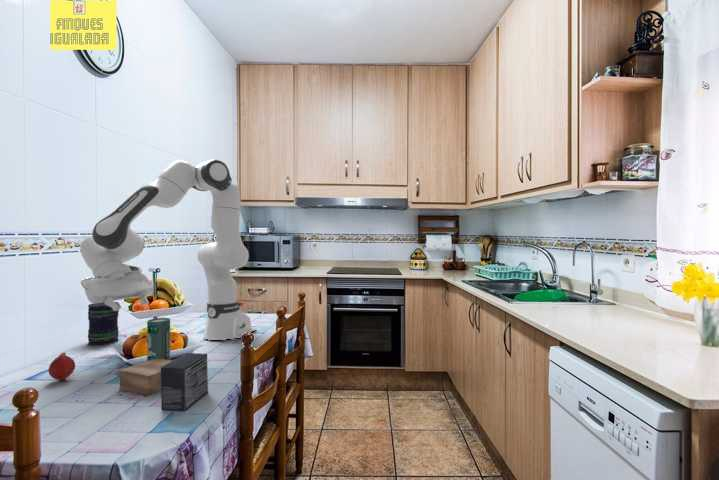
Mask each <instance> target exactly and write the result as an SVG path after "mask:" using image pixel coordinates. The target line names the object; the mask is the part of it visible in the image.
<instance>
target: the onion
mask: <svg viewBox="0 0 719 480" xmlns="http://www.w3.org/2000/svg"><path fill="white" fill-rule="evenodd" d="M53 359H54V360H52V361H51V363H50V364H49V367H48V375H50V377H51V378H52V379H54V380H57V381H60V382H63V381H65V380H66V379H68V377H70V376H71V375H72V374H73V373H74V370H75V369H76V362H75V361H74V359H73V358H72V357H71V356H68V355H66V352H64V351H63V352H61V353H60V354H59V355H58V356H57V357H55V358H53Z"/></svg>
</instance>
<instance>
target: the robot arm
mask: <svg viewBox="0 0 719 480" xmlns="http://www.w3.org/2000/svg"><path fill="white" fill-rule="evenodd" d="M232 180H233V179H232V177H231V173H230V170H229V167H228V166H227V165H226V163H225V162H223V161H221V160H219V159H209V160H206V161H204V162H201V163H199V164H198V165H195V166H193V165H191V163H189V162H187V161H186V160H179V159H178V160H175V161H173V162H172V163H171V164H170V165H168V166H167V167H166V168H165V169H164V170H162V171H161V173H160V174H159V175H158V176H157V177H156V178H155V179H154V181H152V182H151V183H150V184H146V185H143V186H141V187H139V189H137V190H136V191H135V192H133V193H132V194H131V195H130V196H129V197H127V199H126V200H124V201H123V203H120V205H119V206H118V207H117V208H116V209H115V210H113V211H112V212H111V213H110V214H108V215H107V216H104V217H103V218H102V219H99V221H98V222H96V224H95V225H94V226H93V229H92V234H91V235H89V236H88V237H86V238H85V239H84V240H83V241H82V242H81V244H80V247H79V248H80V249H79V250H80V254H81V256H82V258H83V260H84V262H85V264H86V265H87V267H88V268H89V269H90V270H91V271H92V276H93V277H89V276H88V277H84V278H83V279H81V280H80V284H81V286H82V288H83V289H84V292H85V296H86V297H87V298H86V299H87V300H88V302H90V304H95V303H102V302H104V303H105V304H106V305H108V306H109V307H112V309H113V310H114V311H118V310H119V311H120V310H121V309H122V306H121V304H120V302H118V303H115V302H116V301H120V300H121V301H122V300H126V299H127V300H128V299H134V298H139V299H141V300H140V301H139V303H140V305H141V306H142V307H145V306H148V305H149V300H148V297H147V296H150V295H151V293H152V292H153V291H154V288H155V287H154V285H153V283H152V281H151V280H150V279H149V277H148V276H147V275H146V274H144V273H142V272H143V269H142V268H141V267H140V266H134V265H129V264H126V263H127V262H128V261H130V260H132V259H134V258H136V257H138V256H139V255H140V254H141V253H142V252H143V250H144V248H145V241H144V238H143V237H141V236H140V235H139V234H138V233H137V232H136V231H134V230H133V229H132V228H131V224H132V223H133V222H134V221H135V220H136V219H137V218H138V217H139V216H140V215H141V214H142V213H143V212H144V211H145V210H146V209H147V208H150V207H152V206H155V207H158V208H162V209H164V208H165V209H168V208H173V207H175V206H177V205H178V204H179V203H180V202H181V201H182V200H183V198H184V197H186V196H185V195H187V194H188V191H189V190H190V189H194V190H197V191H200V192H207V191H210V193H211V195H212V206H211V217H210V228H211V229H212V230H213V232H214V234H215V238H216V241H211V242H208V243H205V244H203V245H201V246H200V247H199V249H198V251H197V256H196V257H197V260H198V262H199V264H201V265H202V267H203V270H204V271H203V272H204V273H205V278H206V283H207V303H206V304H207V305H206V314H207V316H206V322H205V331H204V332H203V339H204V338H205V339H204V340H206V339H208V340H207V341H210V340H223V341H227V340H226V339H231V340H234V339H233V338H240V337H241V335H242V334H243V333H244V332H252V331H254V330H256V329H257V328H256V327H254V326H252V321H251V320H252V319H251V317H249V315H247V314H246V313H245V312H243V311H242V310H241V308H240V307H244V304H245V302H244V301H243V300H242V301H238V300H237V299H238V298H237V297H238V296H237V295H238V291H237V290H238V288H237V285H238V284H237V282H236V280H235V279H234V277H233V276H232V273H231V270H236V269H237V270H238V269H241V268H243V267H244V266H245V265H247V263H248V261H249V257H250V254H249V250H248V249H247V247H246V246H245V245H244V243H243V240H242V237H241V231H240V219H241V217H240V216H241V192H240V188H239V187H238V186H237V185H236V184H234V183H232V182H233V181H232ZM251 327H253V328H251ZM256 331H257V330H256ZM204 334H205V335H204Z"/></svg>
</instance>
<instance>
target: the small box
mask: <svg viewBox="0 0 719 480" xmlns="http://www.w3.org/2000/svg"><path fill="white" fill-rule="evenodd" d="M160 394H161V395H160V396H161V402H160V404H161V406H160V407H161V411H172V412H173V411H174V412H186V411H188V410H189V409H190V408H192V406H194V405H195V404H196V403H197V402H198V401H200V400H201V399H203V398H204V397H205V396H206V395H208V394H209V382H208V353H187V352H186V353H184V354H182V355H180V356H179V357H177V358H175V359H173V360H171V362H169V363H168V364H166V365H164V366H162V367H161V390H160Z"/></svg>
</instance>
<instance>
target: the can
mask: <svg viewBox="0 0 719 480" xmlns="http://www.w3.org/2000/svg"><path fill="white" fill-rule="evenodd" d="M146 323H147V324H146V325H147V326H146V327H147V329H146V331H147V333H146V335H147V336H146V339H147V347H146V349H147V352H146V357H147V359H146V361H149V360H152V359H155V358H160V359H165V360H171V318H170V317H156V318H151V319H148V320H147V321H146Z"/></svg>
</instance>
